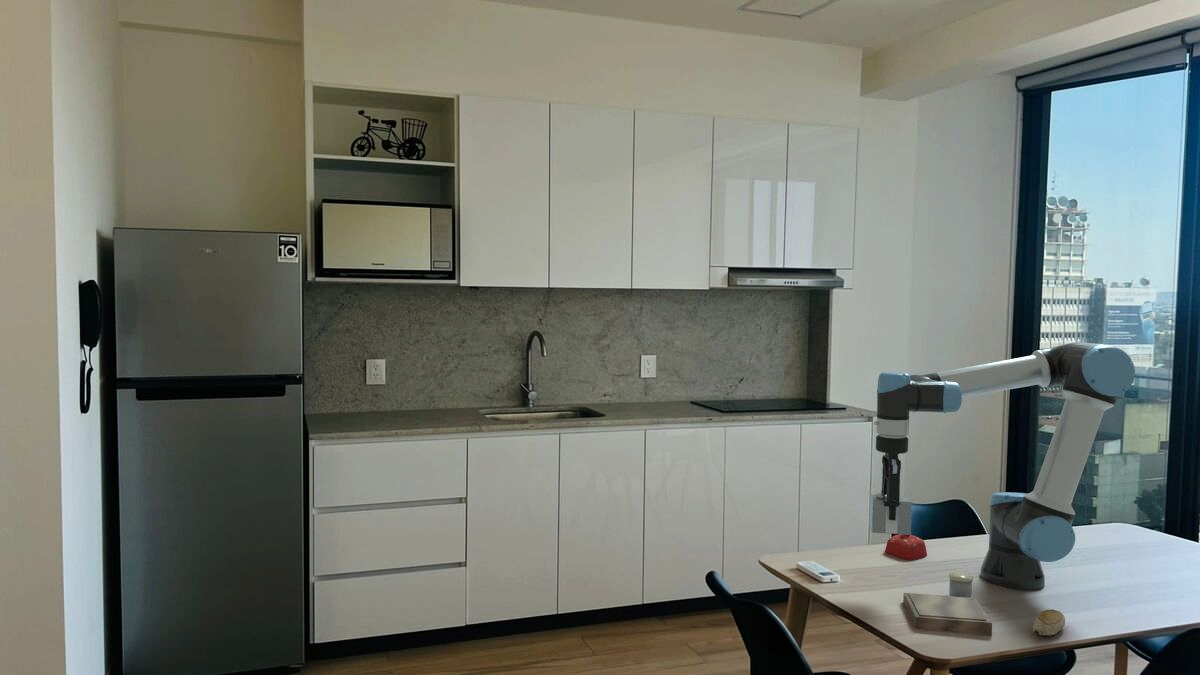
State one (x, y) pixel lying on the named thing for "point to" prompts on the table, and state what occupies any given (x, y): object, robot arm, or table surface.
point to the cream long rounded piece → (1048, 622)
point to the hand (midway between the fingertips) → (889, 528)
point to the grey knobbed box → (879, 514)
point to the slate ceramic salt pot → (960, 584)
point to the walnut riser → (947, 614)
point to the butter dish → (906, 547)
